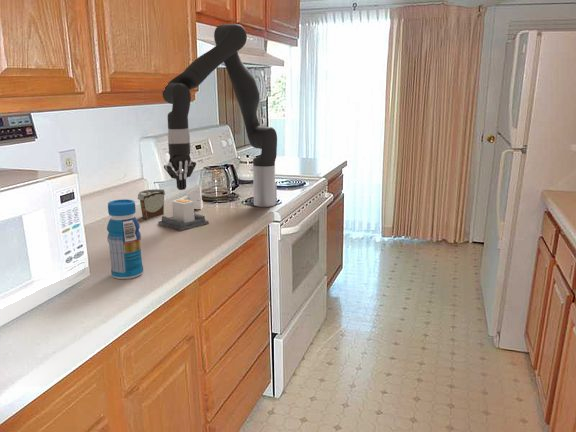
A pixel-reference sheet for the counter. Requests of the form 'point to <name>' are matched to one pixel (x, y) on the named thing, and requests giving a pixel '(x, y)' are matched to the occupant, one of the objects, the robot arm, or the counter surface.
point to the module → (183, 210)
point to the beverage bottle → (124, 240)
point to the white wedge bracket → (196, 197)
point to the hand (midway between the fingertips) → (181, 189)
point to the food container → (152, 203)
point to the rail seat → (181, 225)
